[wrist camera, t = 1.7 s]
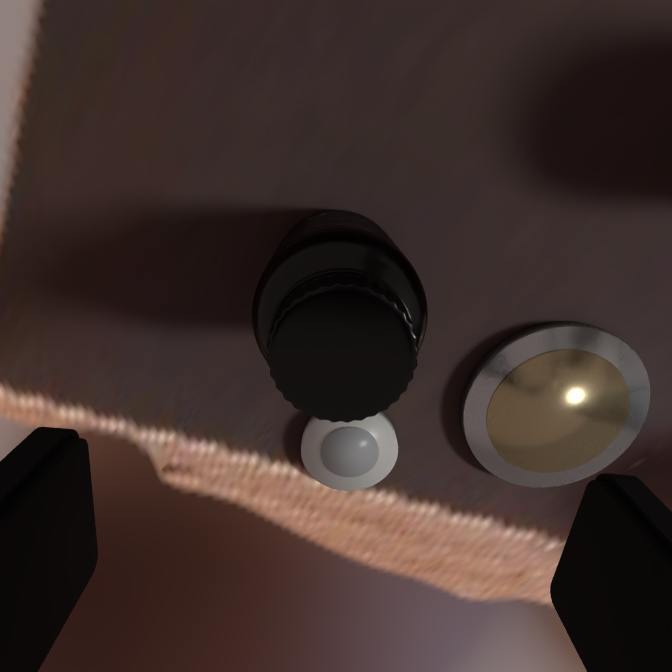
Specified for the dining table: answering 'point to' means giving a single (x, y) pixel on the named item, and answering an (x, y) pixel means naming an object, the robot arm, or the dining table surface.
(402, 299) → the supplement bottle
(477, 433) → the silver and gold coaster
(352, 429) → the plastic flange
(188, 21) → the dining table surface
